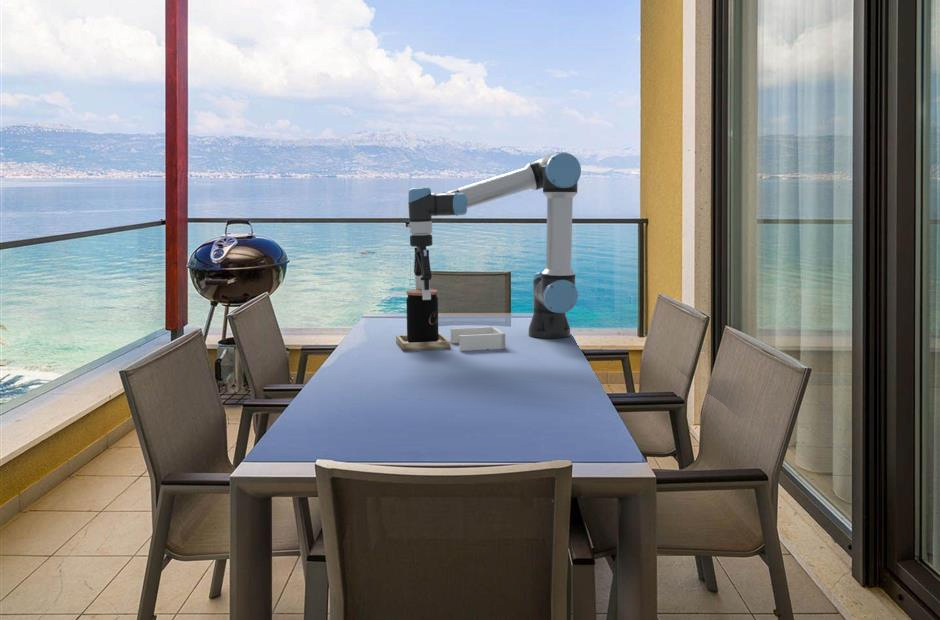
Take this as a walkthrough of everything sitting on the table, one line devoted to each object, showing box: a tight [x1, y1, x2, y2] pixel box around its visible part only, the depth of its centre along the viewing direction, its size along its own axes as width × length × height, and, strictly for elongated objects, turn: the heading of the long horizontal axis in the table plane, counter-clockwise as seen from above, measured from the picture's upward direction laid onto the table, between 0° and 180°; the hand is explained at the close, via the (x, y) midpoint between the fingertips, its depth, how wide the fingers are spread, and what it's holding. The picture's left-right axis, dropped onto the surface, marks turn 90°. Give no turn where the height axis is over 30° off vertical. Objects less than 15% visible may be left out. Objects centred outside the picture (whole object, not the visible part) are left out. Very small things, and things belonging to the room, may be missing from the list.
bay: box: [450, 326, 506, 352], centre depth 289 cm, size 15×15×5 cm
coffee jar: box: [405, 288, 439, 343], centre depth 289 cm, size 11×11×18 cm
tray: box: [395, 332, 451, 352], centre depth 290 cm, size 16×16×2 cm
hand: (423, 297), depth 288 cm, fingers open, 13 cm apart
